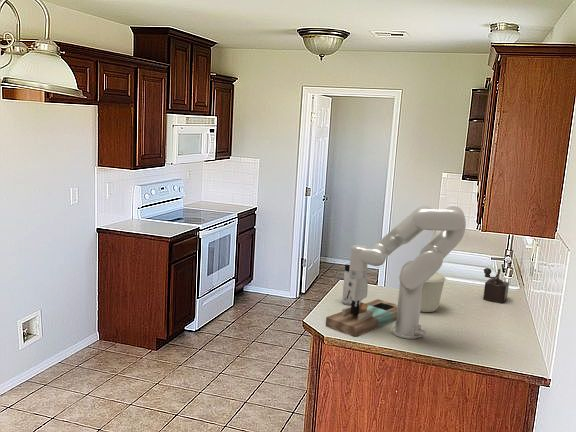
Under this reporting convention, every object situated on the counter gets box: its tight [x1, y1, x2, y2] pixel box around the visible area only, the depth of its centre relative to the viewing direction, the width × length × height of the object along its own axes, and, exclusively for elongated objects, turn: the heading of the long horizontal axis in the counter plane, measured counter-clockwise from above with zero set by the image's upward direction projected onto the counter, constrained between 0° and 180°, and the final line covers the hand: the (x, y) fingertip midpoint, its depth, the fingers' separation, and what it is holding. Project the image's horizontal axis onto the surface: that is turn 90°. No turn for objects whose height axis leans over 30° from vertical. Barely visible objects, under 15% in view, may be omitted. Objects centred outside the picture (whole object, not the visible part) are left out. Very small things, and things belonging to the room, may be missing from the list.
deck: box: [325, 298, 398, 338], centre depth 256 cm, size 16×40×7 cm, turn 137°
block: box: [359, 301, 368, 314], centre depth 252 cm, size 5×5×5 cm
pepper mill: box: [482, 267, 510, 305], centre depth 295 cm, size 16×11×18 cm
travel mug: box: [341, 263, 351, 306], centre depth 278 cm, size 6×7×20 cm
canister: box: [420, 271, 447, 313], centre depth 275 cm, size 18×18×21 cm
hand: (354, 314), depth 249 cm, fingers closed
